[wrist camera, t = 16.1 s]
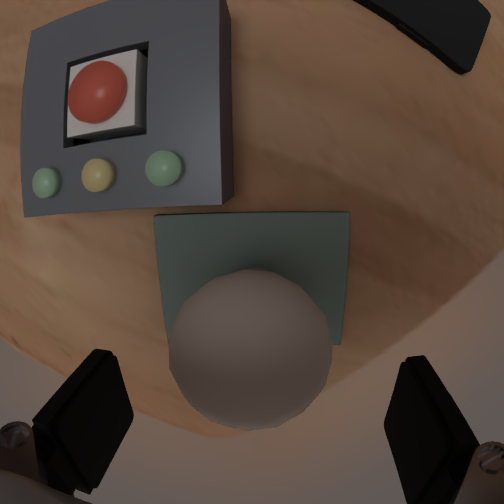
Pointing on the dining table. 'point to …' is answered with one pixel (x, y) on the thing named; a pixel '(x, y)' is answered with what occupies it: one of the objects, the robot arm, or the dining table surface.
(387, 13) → the smart home device
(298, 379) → the light bulb
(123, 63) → the button
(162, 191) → the grey button control box
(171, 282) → the mat
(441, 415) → the robot arm
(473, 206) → the dining table surface
